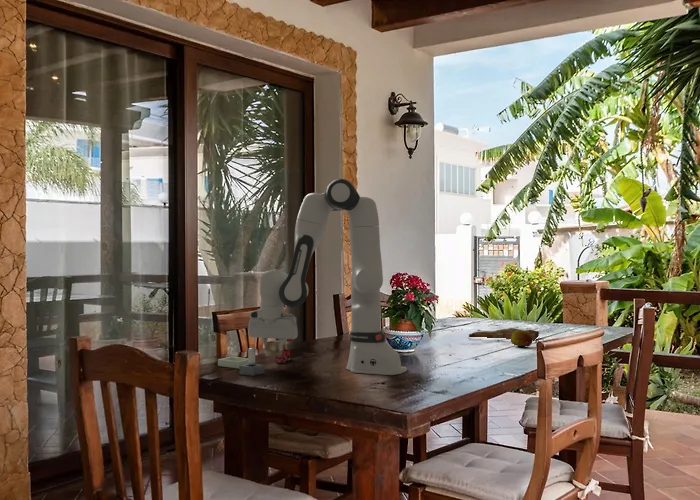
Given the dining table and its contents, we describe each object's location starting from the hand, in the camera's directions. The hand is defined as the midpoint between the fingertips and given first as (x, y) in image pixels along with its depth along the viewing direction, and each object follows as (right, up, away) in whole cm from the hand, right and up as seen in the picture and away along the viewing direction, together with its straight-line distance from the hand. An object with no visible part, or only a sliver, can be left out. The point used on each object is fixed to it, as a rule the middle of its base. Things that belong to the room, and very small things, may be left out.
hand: (273, 350), depth 260 cm
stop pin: (-6, -7, -12) cm, 15 cm away
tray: (-15, -6, +4) cm, 17 cm away
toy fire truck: (+3, -7, +17) cm, 19 cm away
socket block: (-6, -7, -12) cm, 15 cm away
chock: (0, -2, 0) cm, 2 cm away
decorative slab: (+106, -8, +92) cm, 141 cm away
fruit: (+107, -8, +62) cm, 124 cm away
